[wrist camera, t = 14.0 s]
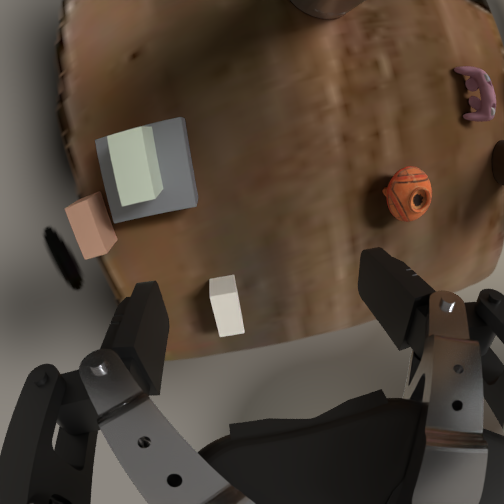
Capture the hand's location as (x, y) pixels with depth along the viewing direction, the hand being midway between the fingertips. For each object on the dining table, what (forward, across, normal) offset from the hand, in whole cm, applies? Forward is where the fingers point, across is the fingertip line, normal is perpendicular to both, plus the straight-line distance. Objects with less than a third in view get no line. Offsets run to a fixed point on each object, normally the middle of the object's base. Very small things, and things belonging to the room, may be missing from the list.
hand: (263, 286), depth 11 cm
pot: (+25, -24, +4) cm, 35 cm away
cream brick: (+25, +3, +17) cm, 31 cm away
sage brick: (+21, +9, -4) cm, 23 cm away
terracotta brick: (+25, +18, +3) cm, 31 cm away
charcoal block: (+25, +9, -2) cm, 27 cm away
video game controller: (+26, -41, -13) cm, 51 cm away
